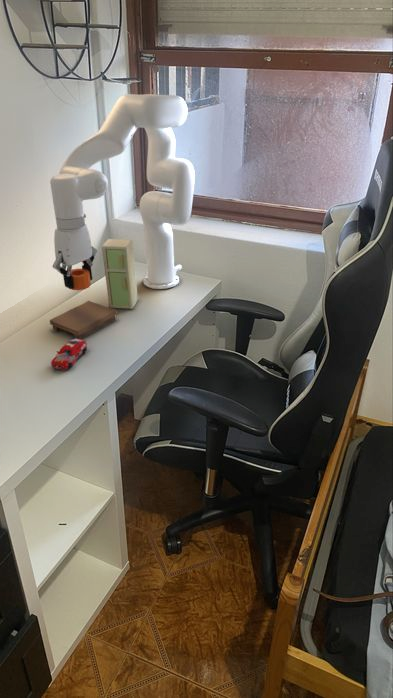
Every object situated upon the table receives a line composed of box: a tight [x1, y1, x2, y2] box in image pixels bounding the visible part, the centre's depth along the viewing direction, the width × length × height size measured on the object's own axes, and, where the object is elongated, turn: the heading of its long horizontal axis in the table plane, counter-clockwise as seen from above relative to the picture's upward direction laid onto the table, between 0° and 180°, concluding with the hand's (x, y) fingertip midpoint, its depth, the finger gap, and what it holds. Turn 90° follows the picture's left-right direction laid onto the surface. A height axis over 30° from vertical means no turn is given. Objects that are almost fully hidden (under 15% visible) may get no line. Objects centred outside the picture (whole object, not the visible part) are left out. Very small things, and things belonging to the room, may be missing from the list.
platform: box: [49, 300, 118, 340], centre depth 159 cm, size 16×12×4 cm
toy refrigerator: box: [101, 238, 139, 310], centre depth 166 cm, size 8×7×21 cm
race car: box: [50, 338, 88, 371], centre depth 142 cm, size 13×5×4 cm, turn 161°
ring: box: [68, 268, 92, 291], centre depth 151 cm, size 6×6×4 cm
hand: (78, 282), depth 151 cm, fingers closed on ring, 6 cm apart
